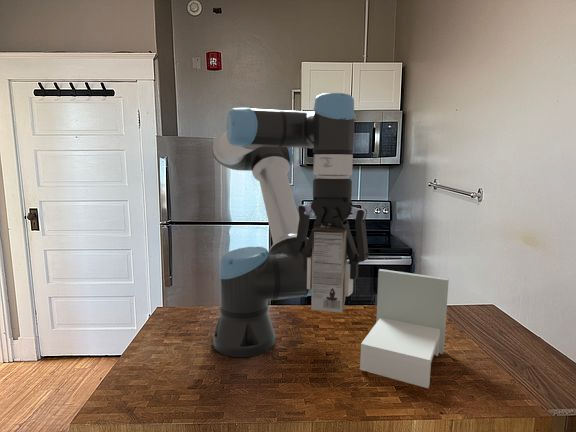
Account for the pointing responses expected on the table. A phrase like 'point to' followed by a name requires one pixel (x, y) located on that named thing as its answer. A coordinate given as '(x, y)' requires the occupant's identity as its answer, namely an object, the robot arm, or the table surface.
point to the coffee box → (328, 268)
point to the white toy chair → (406, 327)
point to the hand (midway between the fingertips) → (329, 290)
